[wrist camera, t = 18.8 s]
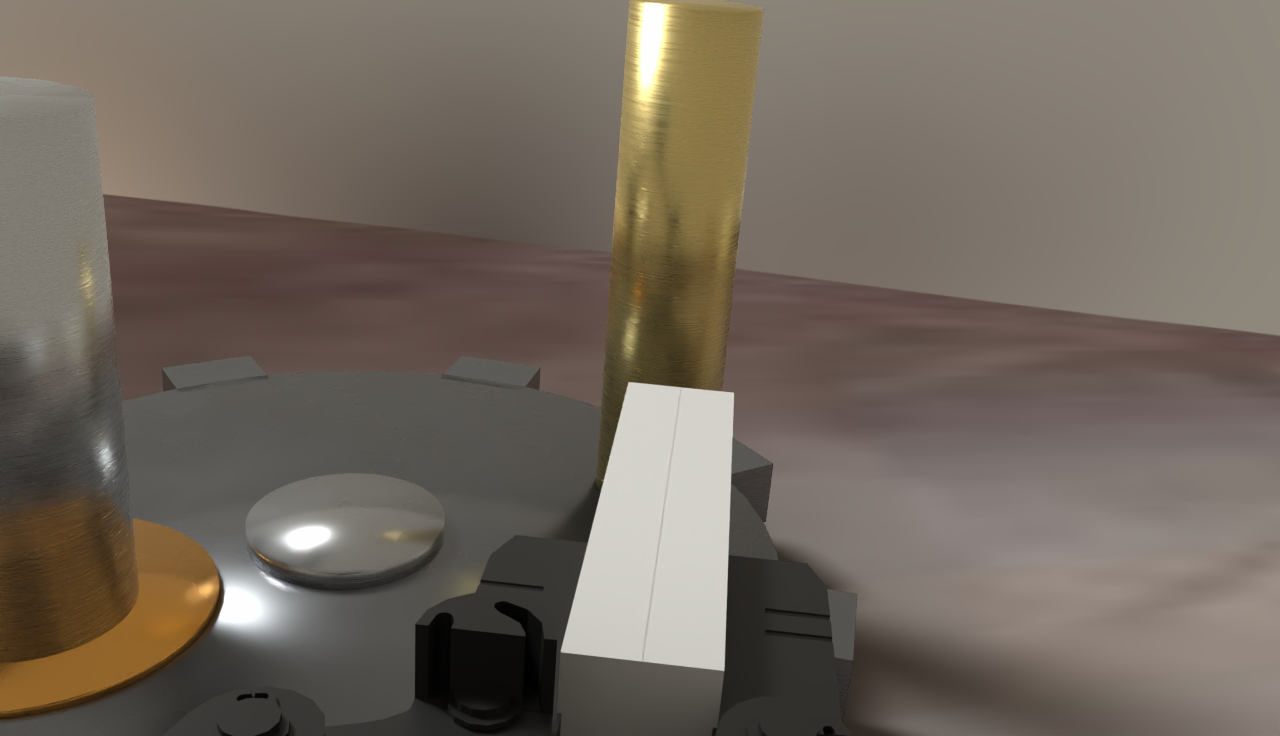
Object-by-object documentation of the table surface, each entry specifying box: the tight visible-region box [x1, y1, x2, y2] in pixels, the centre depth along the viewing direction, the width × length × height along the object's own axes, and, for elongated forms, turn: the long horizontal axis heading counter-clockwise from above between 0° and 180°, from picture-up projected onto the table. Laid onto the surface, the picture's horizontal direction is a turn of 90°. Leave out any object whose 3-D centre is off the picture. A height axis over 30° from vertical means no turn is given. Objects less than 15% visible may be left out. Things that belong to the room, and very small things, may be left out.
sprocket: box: [0, 0, 857, 736], centre depth 26 cm, size 23×23×14 cm
